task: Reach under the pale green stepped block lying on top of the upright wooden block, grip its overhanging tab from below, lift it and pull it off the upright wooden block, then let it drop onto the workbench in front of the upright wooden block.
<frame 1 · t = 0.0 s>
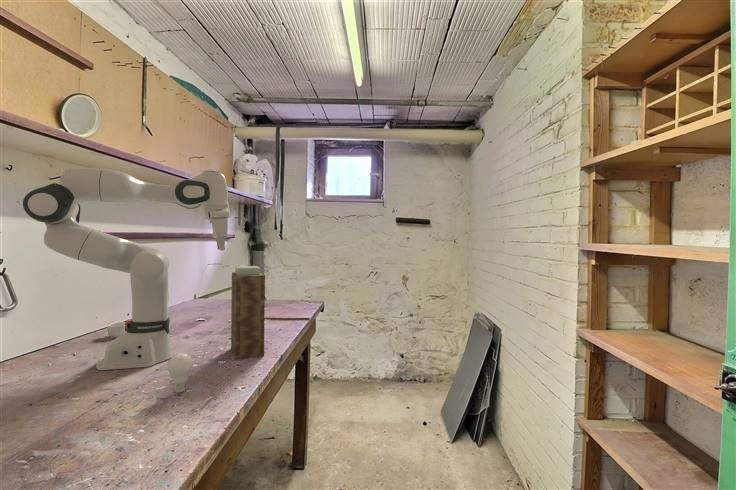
hand: (221, 249, 135), 39 cm above the table, fingers open, 8 cm apart
teacup: (118, 336, 153), on the table
upright wooden block: (247, 352, 134), on the table
lightbulb: (180, 393, 99), on the table
pale green stepped block: (245, 272, 138), point 30 cm above the table, touching upright wooden block
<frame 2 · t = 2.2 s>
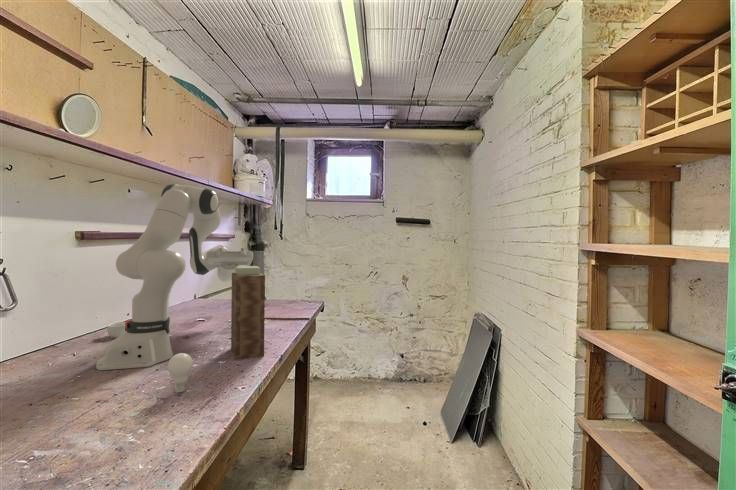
hand: (231, 249, 157), 38 cm above the table, fingers open, 8 cm apart
nothing on the table moved.
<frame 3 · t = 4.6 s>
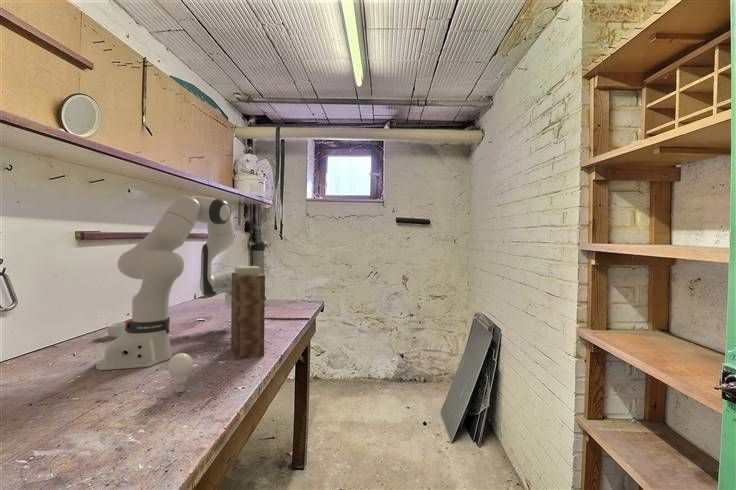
hand: (240, 278, 151), 26 cm above the table, fingers open, 8 cm apart
nothing on the table moved.
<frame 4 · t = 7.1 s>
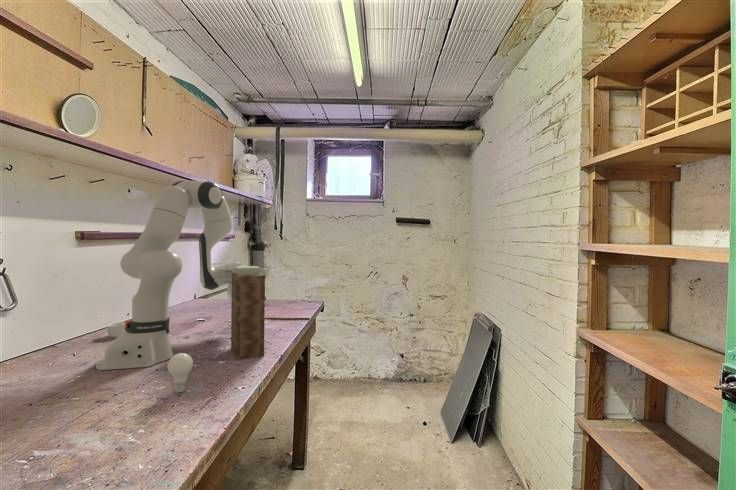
hand: (243, 267, 143), 31 cm above the table, fingers closed on pale green stepped block, 3 cm apart
pale green stepped block: (245, 272, 138), point 30 cm above the table, touching gripper, upright wooden block
everything else where it was.
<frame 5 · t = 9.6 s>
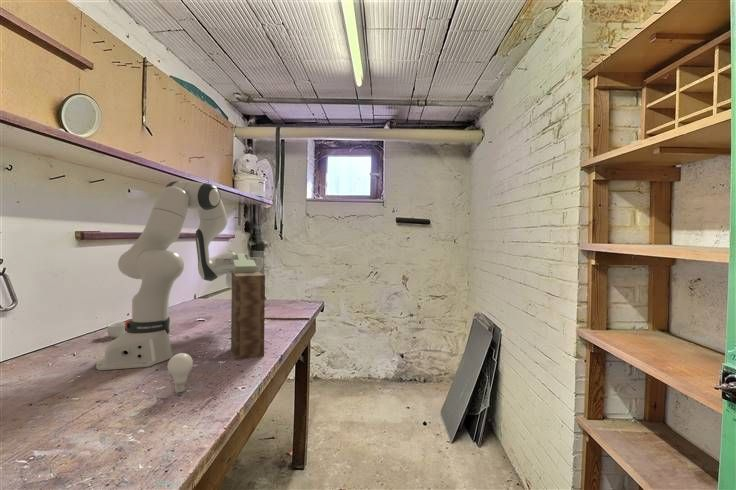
hand: (241, 256, 150), 36 cm above the table, fingers closed on pale green stepped block, 3 cm apart
pale green stepped block: (243, 265, 146), point 32 cm above the table, tilted 15°, touching gripper
everything else where it was.
when the fingers open (25 cm above the table, at t = 11.9 s): pale green stepped block drops 18 cm, on the table.
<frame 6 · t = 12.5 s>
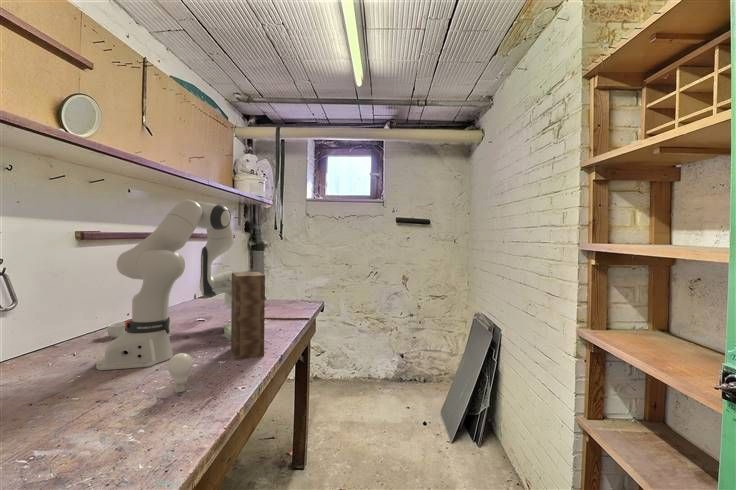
hand: (239, 278, 155), 25 cm above the table, fingers open, 8 cm apart
pale green stepped block: (233, 334, 158), on the table
everything else where it was.
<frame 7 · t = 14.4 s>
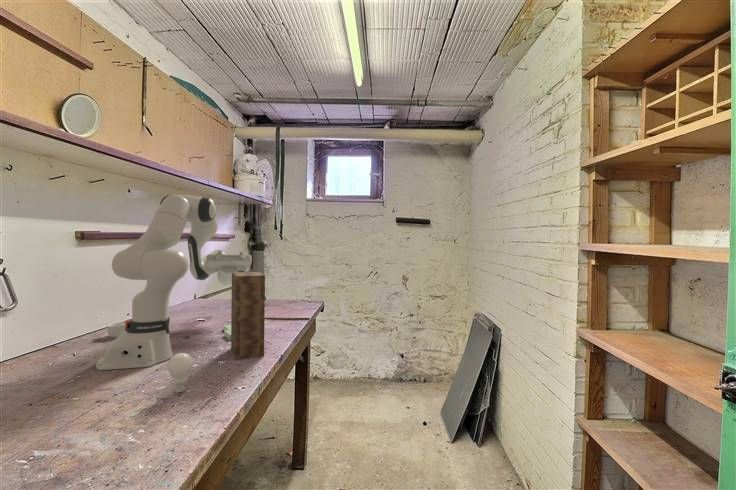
hand: (230, 253, 162), 36 cm above the table, fingers open, 8 cm apart
nothing on the table moved.
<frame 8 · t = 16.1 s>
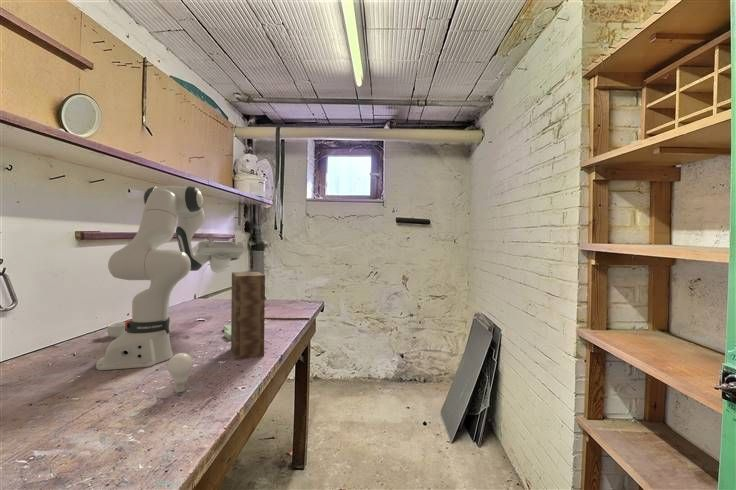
hand: (223, 239, 161), 42 cm above the table, fingers open, 8 cm apart
nothing on the table moved.
at the end: pale green stepped block inside the target area (5.3 cm from its centre), on the table; the gripper is holding nothing; pale green stepped block touching table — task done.
